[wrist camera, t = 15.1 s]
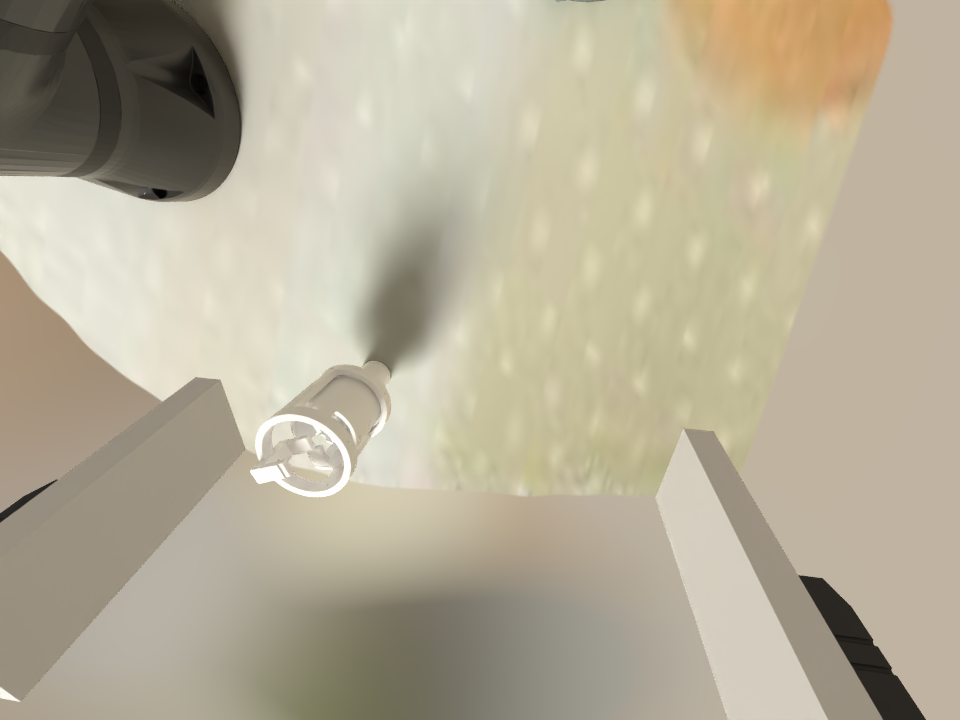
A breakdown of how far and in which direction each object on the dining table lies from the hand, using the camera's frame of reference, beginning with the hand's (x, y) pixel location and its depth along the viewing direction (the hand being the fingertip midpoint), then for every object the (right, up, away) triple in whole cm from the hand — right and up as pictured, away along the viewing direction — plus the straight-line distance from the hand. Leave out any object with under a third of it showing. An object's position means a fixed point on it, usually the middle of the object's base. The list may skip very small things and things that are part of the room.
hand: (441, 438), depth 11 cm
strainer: (-9, +1, +29) cm, 31 cm away
